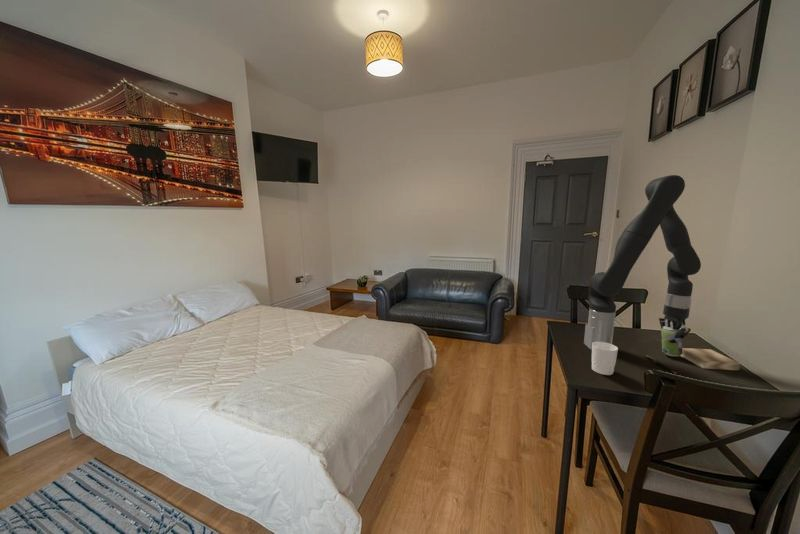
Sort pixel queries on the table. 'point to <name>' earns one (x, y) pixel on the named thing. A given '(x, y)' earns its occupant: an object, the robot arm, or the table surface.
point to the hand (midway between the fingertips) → (670, 345)
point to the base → (709, 359)
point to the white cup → (603, 357)
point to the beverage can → (671, 342)
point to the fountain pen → (659, 364)
